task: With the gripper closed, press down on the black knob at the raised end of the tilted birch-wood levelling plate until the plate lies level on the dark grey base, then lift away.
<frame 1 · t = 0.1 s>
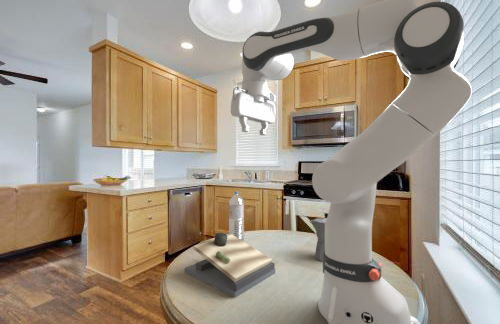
hand: (254, 133, 80), 48 cm above the table, tool pointing down, fingers open, 8 cm apart
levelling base: (230, 272, 81), on the table
water bottle: (236, 247, 106), on the table
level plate: (233, 250, 80), point 8 cm above the table, hinge at 14.0°
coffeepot: (329, 258, 94), on the table
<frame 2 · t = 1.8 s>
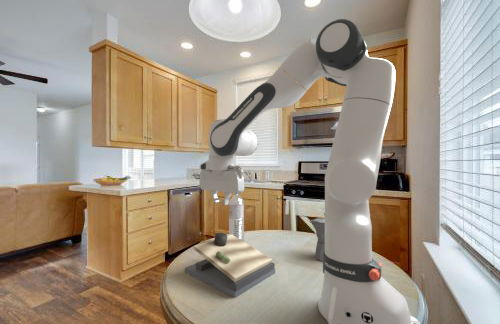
hand: (220, 203, 84), 23 cm above the table, tool pointing down, fingers open, 3 cm apart
nothing on the table moved.
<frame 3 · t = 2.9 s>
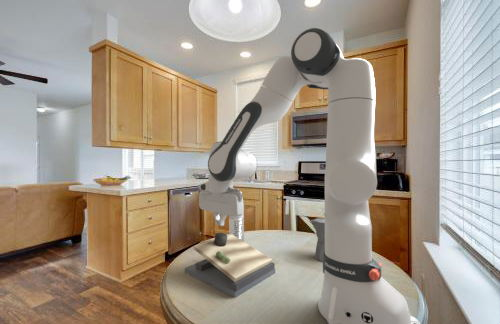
hand: (219, 225, 84), 15 cm above the table, tool pointing down, fingers closed
nothing on the table moved.
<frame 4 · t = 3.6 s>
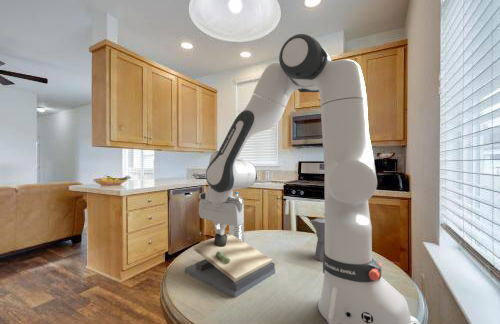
hand: (219, 234, 84), 12 cm above the table, tool pointing down, fingers closed
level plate: (233, 250, 80), point 8 cm above the table, hinge at 13.5°, touching gripper
everything else where it was.
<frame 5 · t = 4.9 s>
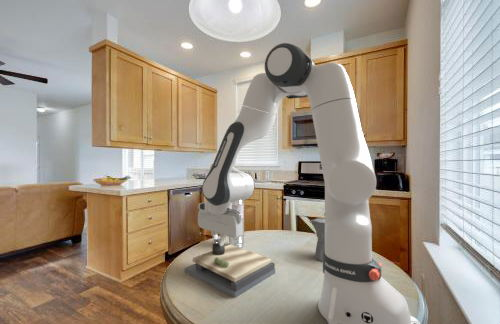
hand: (218, 244, 85), 8 cm above the table, tool pointing down, fingers closed, pressing on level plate
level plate: (232, 255, 80), point 6 cm above the table, hinge at 1.7°, touching gripper
everything else where it was.
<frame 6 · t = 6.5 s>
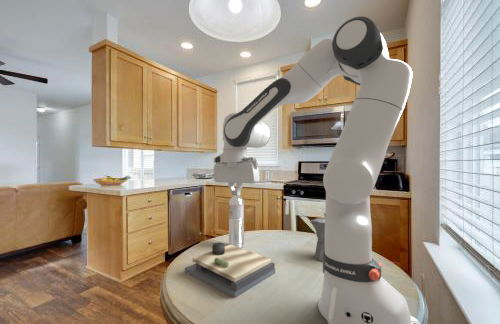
hand: (235, 195, 87), 26 cm above the table, tool pointing down, fingers closed
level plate: (232, 255, 80), point 6 cm above the table, hinge at 1.7°
everything else where it was.
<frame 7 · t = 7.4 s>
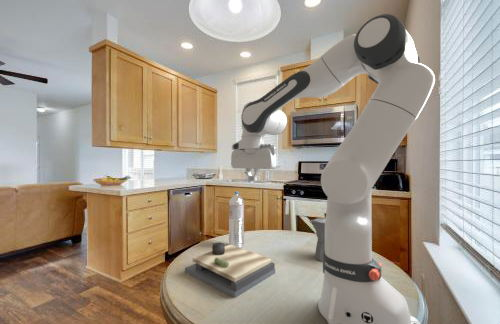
hand: (252, 180, 90), 31 cm above the table, tool pointing down, fingers closed
nothing on the table moved.
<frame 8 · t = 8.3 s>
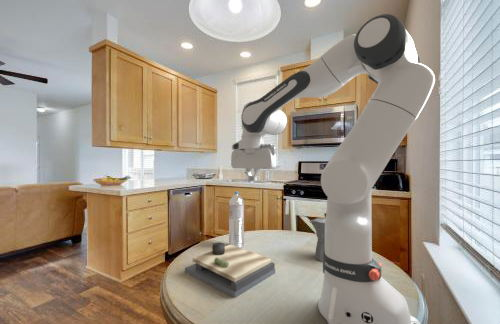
hand: (252, 180, 90), 31 cm above the table, tool pointing down, fingers closed
nothing on the table moved.
at the end: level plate at +2° (first picture: +14°); water bottle moved 0.2 cm from its start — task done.
